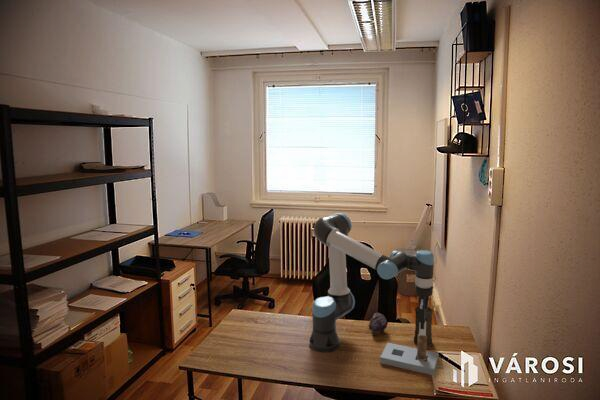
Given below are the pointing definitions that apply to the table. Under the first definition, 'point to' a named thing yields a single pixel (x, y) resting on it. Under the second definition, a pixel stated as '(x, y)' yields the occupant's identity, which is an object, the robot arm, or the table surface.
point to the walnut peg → (422, 347)
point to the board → (408, 358)
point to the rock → (378, 323)
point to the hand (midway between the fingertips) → (422, 334)
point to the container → (428, 326)
